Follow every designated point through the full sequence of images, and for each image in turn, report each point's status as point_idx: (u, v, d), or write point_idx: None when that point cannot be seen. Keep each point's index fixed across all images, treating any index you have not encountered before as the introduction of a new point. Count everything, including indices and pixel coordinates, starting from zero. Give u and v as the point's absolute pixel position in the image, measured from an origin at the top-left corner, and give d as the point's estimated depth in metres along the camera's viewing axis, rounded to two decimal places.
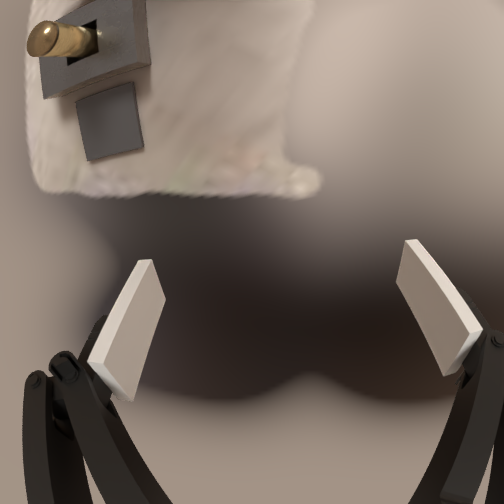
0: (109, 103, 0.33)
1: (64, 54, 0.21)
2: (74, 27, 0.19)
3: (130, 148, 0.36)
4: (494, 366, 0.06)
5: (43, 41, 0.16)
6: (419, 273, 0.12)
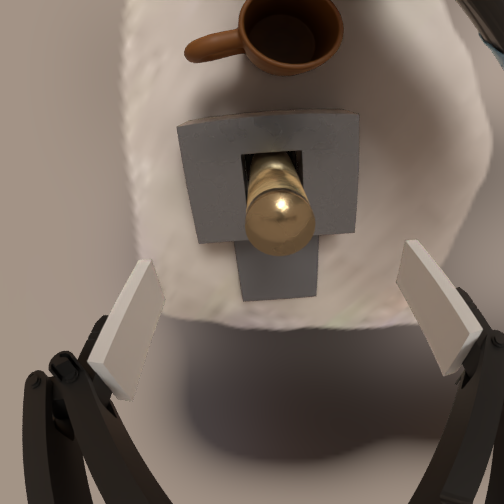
0: None
1: None
2: (301, 184, 0.21)
3: (302, 295, 0.38)
4: (494, 366, 0.06)
5: (290, 236, 0.18)
6: (419, 273, 0.12)
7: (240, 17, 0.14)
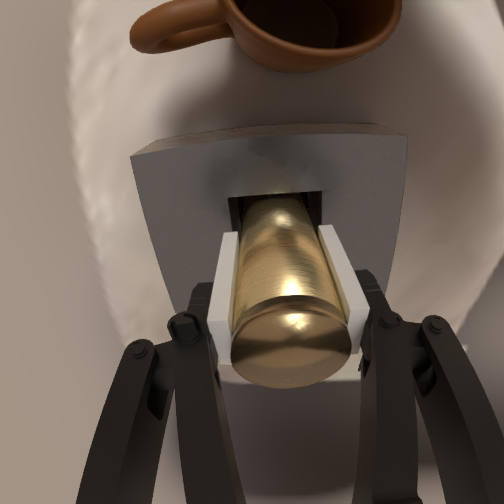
0: None
1: None
2: (324, 260, 0.13)
3: None
4: (390, 350, 0.08)
5: (307, 368, 0.10)
6: (325, 255, 0.14)
7: None
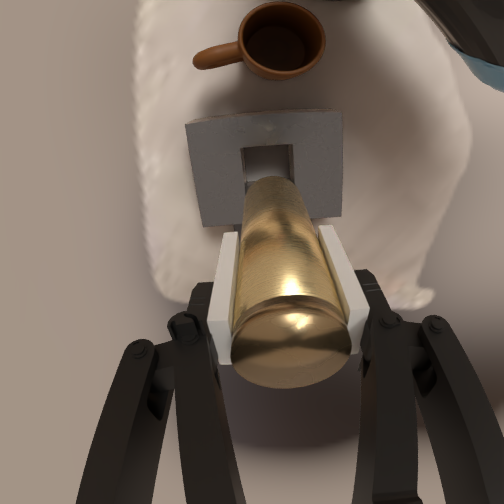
0: None
1: None
2: (324, 260, 0.13)
3: None
4: (390, 350, 0.08)
5: (307, 368, 0.10)
6: (325, 255, 0.14)
7: (239, 32, 0.18)
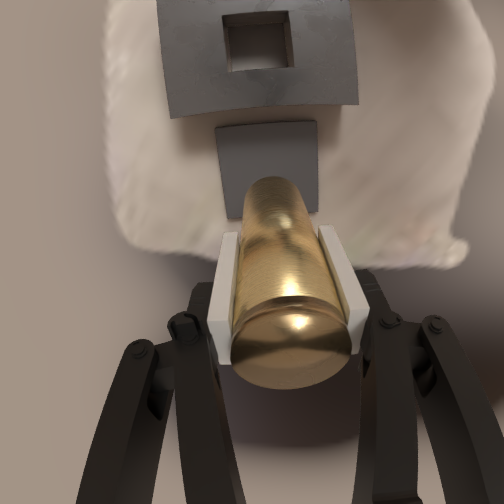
0: (278, 143, 0.27)
1: None
2: (324, 260, 0.13)
3: None
4: (390, 350, 0.08)
5: (307, 369, 0.10)
6: (325, 255, 0.14)
7: None
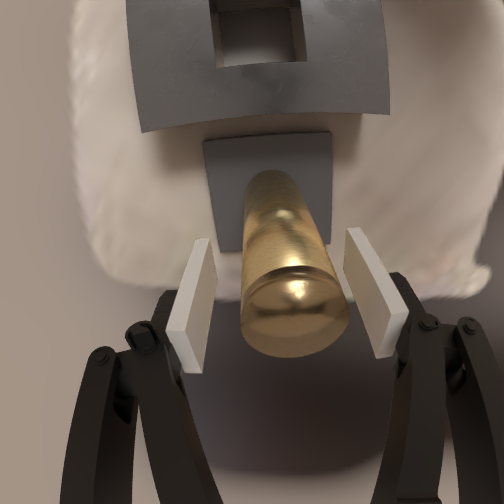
0: (282, 161, 0.21)
1: None
2: (321, 241, 0.14)
3: None
4: (427, 351, 0.07)
5: (310, 336, 0.11)
6: (356, 258, 0.13)
7: None
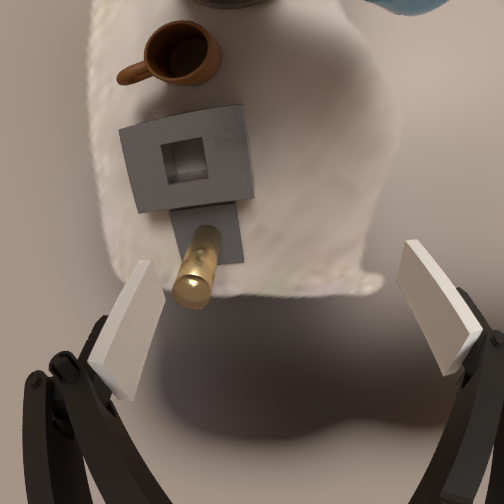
0: (210, 220, 0.42)
1: None
2: (210, 264, 0.35)
3: (231, 261, 0.46)
4: (494, 366, 0.06)
5: (197, 300, 0.32)
6: (419, 273, 0.12)
7: (144, 52, 0.23)
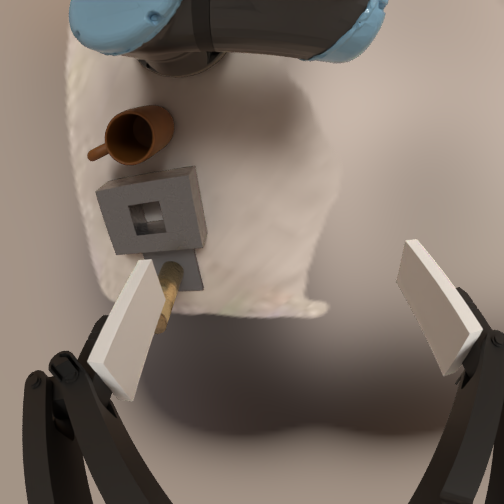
0: (174, 258, 0.51)
1: None
2: (168, 299, 0.44)
3: (193, 289, 0.55)
4: (494, 366, 0.06)
5: (157, 327, 0.41)
6: (419, 273, 0.12)
7: (105, 139, 0.31)
